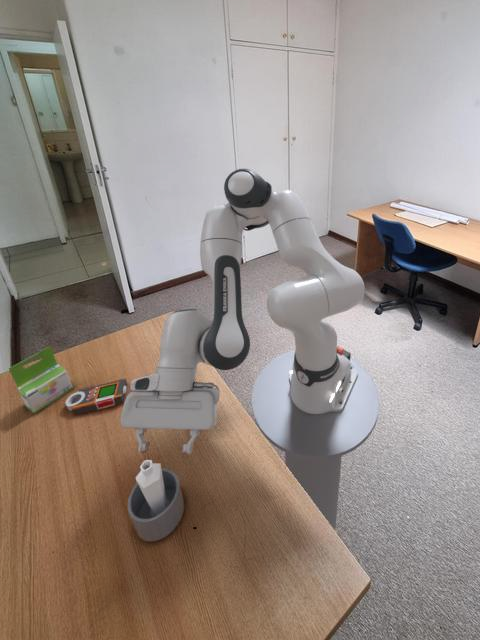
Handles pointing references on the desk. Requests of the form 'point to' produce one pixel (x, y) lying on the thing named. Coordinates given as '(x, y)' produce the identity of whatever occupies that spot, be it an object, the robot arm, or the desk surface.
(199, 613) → the desk surface
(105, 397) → the electronic device
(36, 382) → the ink box
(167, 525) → the short grey cup
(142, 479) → the perfume bottle
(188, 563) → the desk surface
